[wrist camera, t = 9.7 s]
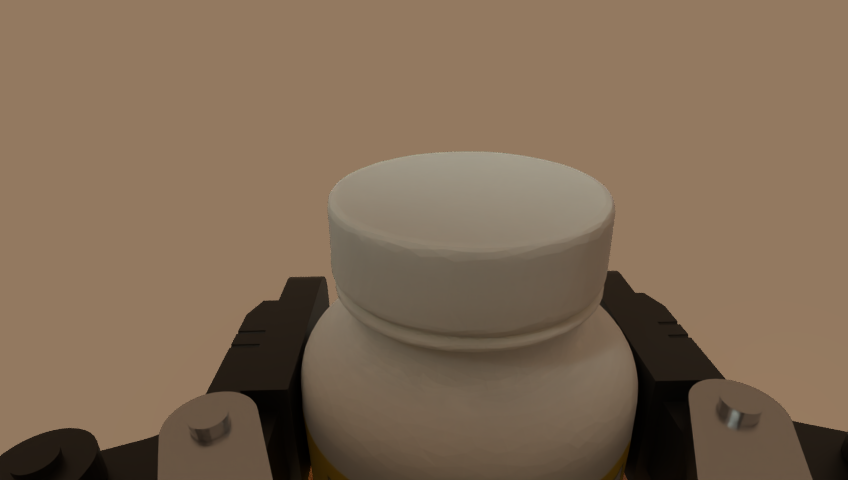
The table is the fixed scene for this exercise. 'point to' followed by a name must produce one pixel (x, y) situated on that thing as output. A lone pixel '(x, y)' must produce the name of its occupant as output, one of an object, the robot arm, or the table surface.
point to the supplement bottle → (469, 326)
